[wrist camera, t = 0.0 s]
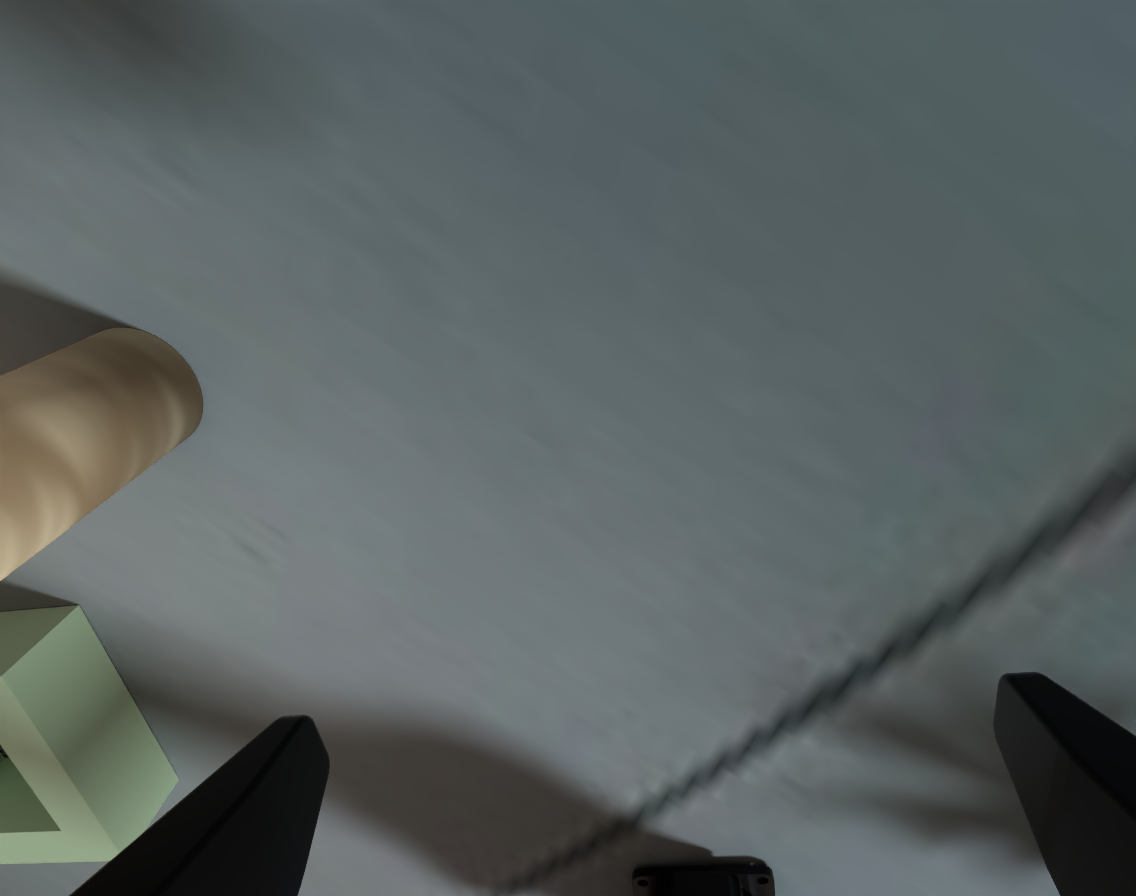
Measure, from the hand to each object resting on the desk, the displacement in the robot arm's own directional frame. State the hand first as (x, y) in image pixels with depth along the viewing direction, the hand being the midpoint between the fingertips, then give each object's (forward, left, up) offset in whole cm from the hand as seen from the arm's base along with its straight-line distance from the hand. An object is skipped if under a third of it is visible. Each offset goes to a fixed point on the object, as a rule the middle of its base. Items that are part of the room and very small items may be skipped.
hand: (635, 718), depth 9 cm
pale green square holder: (-13, +29, -15) cm, 35 cm away
